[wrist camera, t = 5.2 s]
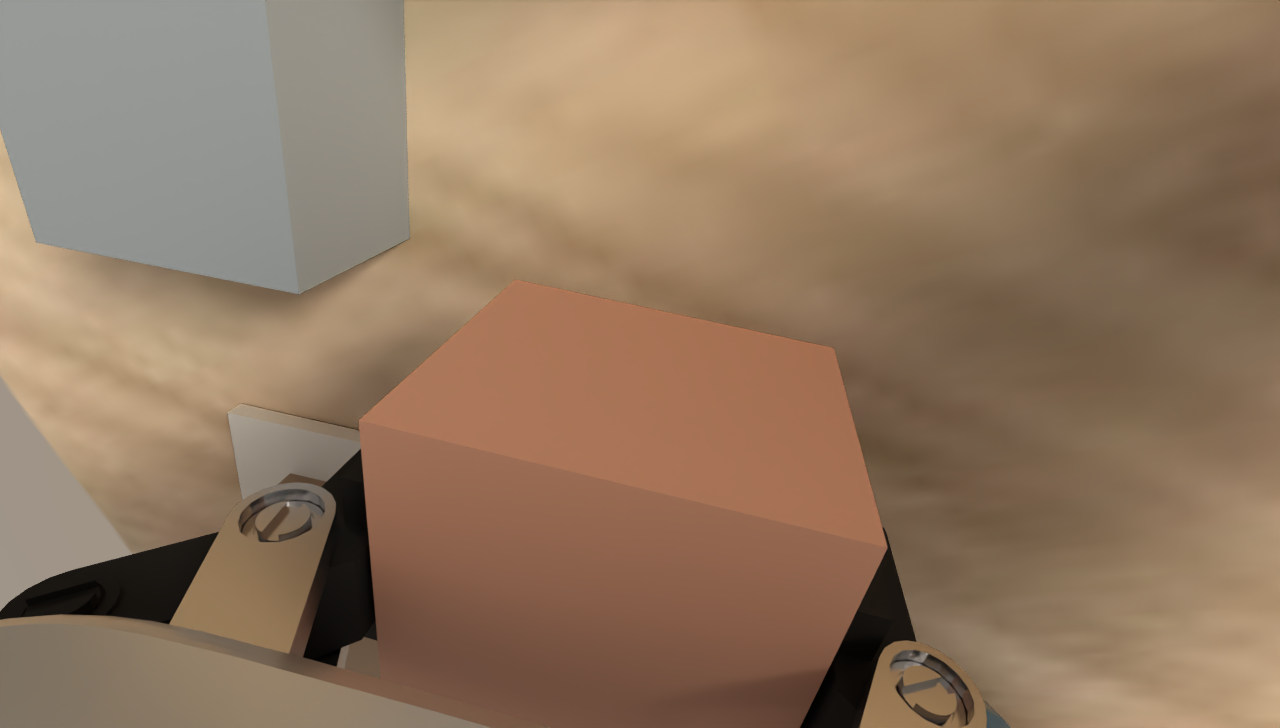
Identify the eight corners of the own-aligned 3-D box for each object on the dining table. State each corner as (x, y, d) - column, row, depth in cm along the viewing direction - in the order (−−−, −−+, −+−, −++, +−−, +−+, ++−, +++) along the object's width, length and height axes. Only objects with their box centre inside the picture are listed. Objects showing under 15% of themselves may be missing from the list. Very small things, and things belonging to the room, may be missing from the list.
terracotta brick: (833, 348, 11) (887, 548, 6) (752, 579, 13) (750, 828, 9) (515, 279, 11) (358, 420, 7) (501, 517, 14) (385, 725, 10)
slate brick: (406, -6, 14) (259, -44, 10) (411, 237, 17) (298, 294, 13) (172, -45, 15) (-73, -99, 10) (214, 199, 17) (36, 242, 13)
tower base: (523, 467, 20) (453, 599, 15) (503, 662, 24) (444, 812, 19) (240, 403, 20) (80, 510, 15) (272, 605, 25) (157, 739, 20)
